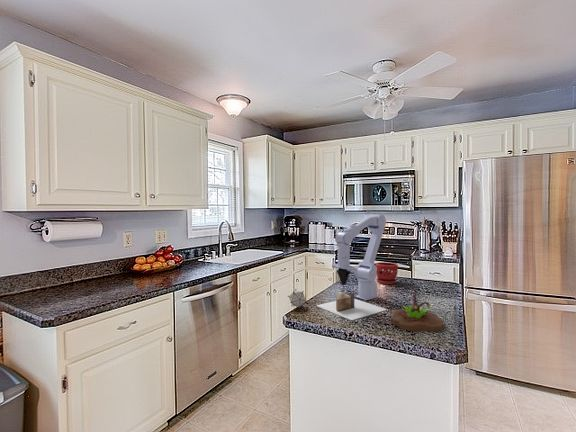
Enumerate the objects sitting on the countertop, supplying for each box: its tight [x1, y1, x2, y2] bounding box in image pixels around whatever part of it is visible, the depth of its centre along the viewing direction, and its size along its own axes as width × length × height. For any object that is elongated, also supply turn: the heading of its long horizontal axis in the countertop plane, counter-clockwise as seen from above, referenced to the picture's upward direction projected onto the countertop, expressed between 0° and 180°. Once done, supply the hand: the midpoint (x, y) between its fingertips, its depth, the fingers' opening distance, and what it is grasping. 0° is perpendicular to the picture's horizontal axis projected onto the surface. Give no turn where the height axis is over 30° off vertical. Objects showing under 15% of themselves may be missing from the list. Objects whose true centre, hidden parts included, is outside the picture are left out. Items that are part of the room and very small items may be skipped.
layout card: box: [315, 298, 388, 322], centre depth 145 cm, size 23×23×1 cm
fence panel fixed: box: [337, 291, 355, 308], centre depth 148 cm, size 10×2×6 cm, turn 35°
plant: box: [390, 293, 445, 332], centre depth 127 cm, size 20×20×11 cm
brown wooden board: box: [335, 295, 351, 311], centre depth 142 cm, size 8×1×5 cm, turn 121°
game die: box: [287, 288, 309, 310], centre depth 146 cm, size 9×8×10 cm
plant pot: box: [375, 261, 399, 285], centre depth 193 cm, size 13×13×12 cm
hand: (343, 284), depth 151 cm, fingers closed
